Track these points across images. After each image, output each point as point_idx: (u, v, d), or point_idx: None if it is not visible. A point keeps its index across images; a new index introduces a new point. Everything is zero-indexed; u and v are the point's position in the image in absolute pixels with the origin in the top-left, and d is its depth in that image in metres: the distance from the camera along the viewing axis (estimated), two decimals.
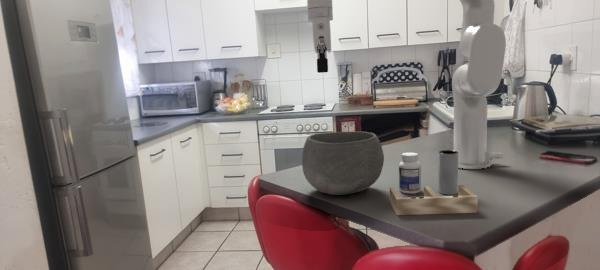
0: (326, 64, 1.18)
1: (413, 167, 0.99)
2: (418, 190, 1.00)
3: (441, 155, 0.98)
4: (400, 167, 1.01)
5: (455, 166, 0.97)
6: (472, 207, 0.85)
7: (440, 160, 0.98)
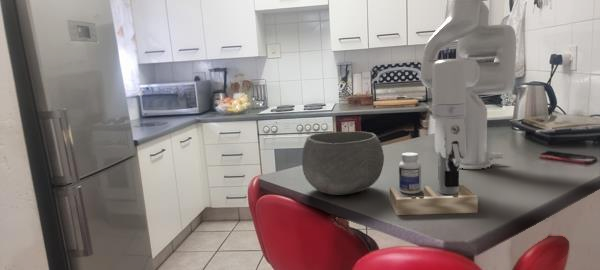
0: (457, 177, 0.96)
1: (413, 167, 0.99)
2: (418, 190, 1.00)
3: None
4: (400, 167, 1.01)
5: None
6: (472, 207, 0.85)
7: (440, 160, 0.98)
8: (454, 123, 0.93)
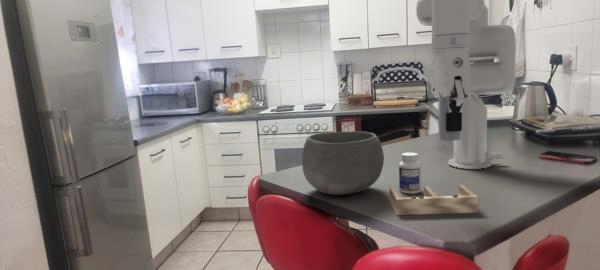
0: (459, 120, 0.84)
1: (413, 167, 0.99)
2: (418, 190, 1.00)
3: (441, 95, 0.85)
4: (400, 167, 1.01)
5: None
6: (472, 207, 0.85)
7: (440, 101, 0.86)
8: (457, 55, 0.81)
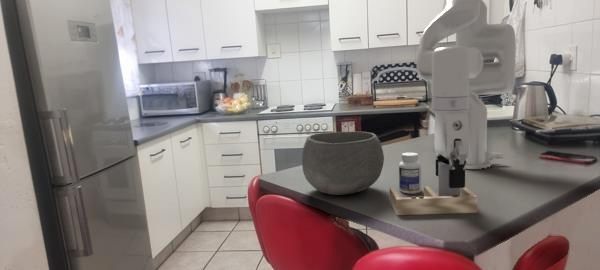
0: (463, 177, 0.84)
1: (413, 167, 0.99)
2: (418, 190, 1.00)
3: (441, 165, 0.88)
4: (400, 167, 1.01)
5: None
6: (472, 207, 0.85)
7: (440, 171, 0.88)
8: (456, 118, 0.82)
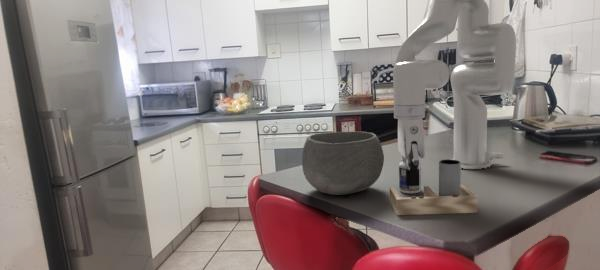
0: (417, 176, 0.99)
1: None
2: (418, 190, 1.00)
3: (441, 165, 0.88)
4: (400, 167, 1.01)
5: (457, 178, 0.87)
6: (472, 207, 0.85)
7: (440, 171, 0.88)
8: (413, 124, 0.95)
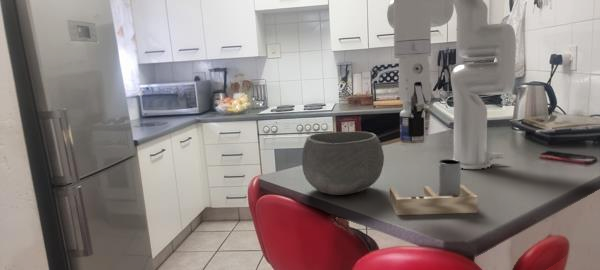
0: (422, 125, 0.84)
1: None
2: (422, 142, 0.86)
3: (441, 165, 0.88)
4: (401, 116, 0.87)
5: (457, 177, 0.87)
6: (472, 207, 0.85)
7: (440, 171, 0.88)
8: (417, 61, 0.81)
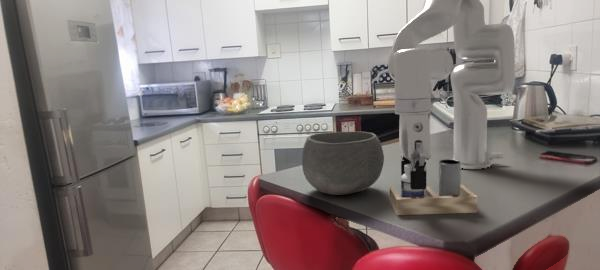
0: (424, 178, 0.84)
1: None
2: None
3: (441, 165, 0.88)
4: (402, 180, 0.89)
5: (457, 178, 0.87)
6: (472, 207, 0.85)
7: (440, 171, 0.88)
8: (417, 120, 0.83)
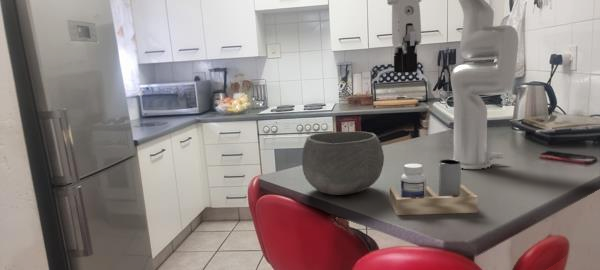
0: (415, 61, 0.88)
1: (417, 181, 0.87)
2: None
3: (441, 165, 0.88)
4: (402, 180, 0.89)
5: (457, 178, 0.87)
6: (472, 207, 0.85)
7: (440, 171, 0.88)
8: (408, 3, 0.86)
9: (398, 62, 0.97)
